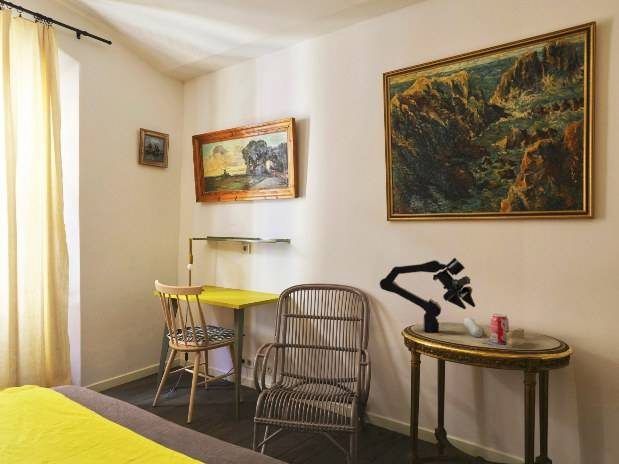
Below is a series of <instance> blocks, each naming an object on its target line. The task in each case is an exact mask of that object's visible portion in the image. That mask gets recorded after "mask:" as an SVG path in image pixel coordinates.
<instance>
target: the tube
mask: <svg viewBox="0 0 619 464" xmlns="http://www.w3.org/2000/svg"><path fill="white" fill-rule="evenodd" d="M463 325H464V327H465V328H466V329H467V330H468V332H469V333H470V335H472V337H474V338H481V337H482V336H483V332H484V330H483V329H482V328H481V327H480V326H479V325H478V324H477V322H475V320H474V319H473V318H472V317H466V318H464V320H463Z"/></svg>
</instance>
